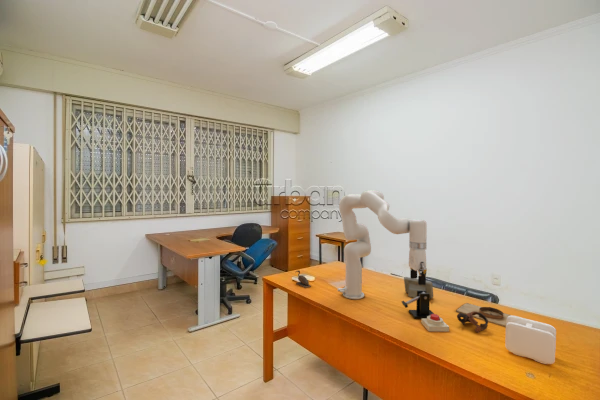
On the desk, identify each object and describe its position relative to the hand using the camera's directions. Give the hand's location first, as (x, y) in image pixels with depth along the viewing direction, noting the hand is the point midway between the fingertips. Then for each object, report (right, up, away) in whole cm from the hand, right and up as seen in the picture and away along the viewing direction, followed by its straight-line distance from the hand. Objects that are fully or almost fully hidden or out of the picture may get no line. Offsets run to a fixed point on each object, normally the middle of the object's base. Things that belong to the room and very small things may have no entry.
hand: (417, 281), depth 134 cm
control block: (+5, -19, -6) cm, 21 cm away
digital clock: (+13, -18, +32) cm, 39 cm away
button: (+5, -16, -6) cm, 17 cm away
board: (+38, -19, +6) cm, 43 cm away
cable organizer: (+31, -20, -27) cm, 46 cm away
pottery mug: (+22, -19, -6) cm, 30 cm away
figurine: (-55, -17, +52) cm, 78 cm away
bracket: (+5, -19, +6) cm, 20 cm away
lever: (+1, -12, +6) cm, 13 cm away
